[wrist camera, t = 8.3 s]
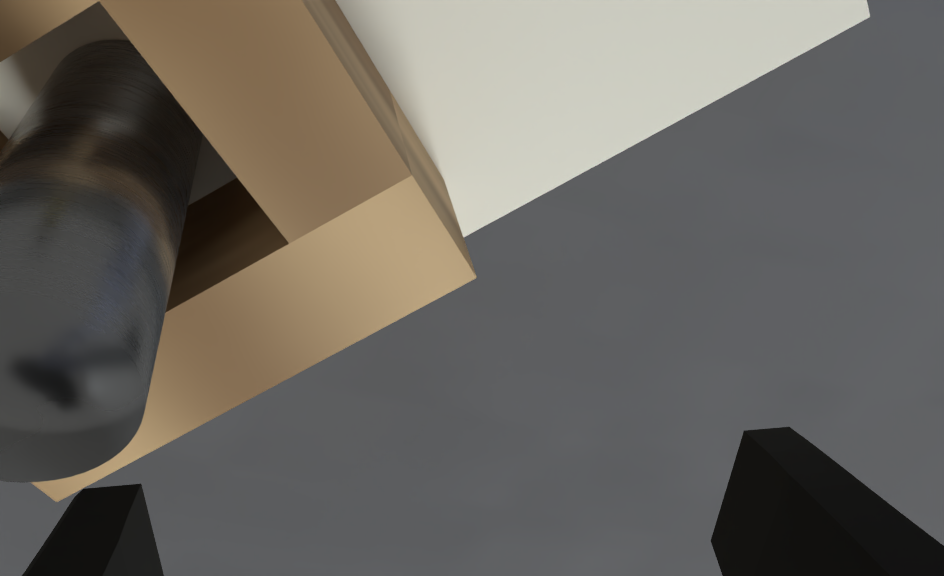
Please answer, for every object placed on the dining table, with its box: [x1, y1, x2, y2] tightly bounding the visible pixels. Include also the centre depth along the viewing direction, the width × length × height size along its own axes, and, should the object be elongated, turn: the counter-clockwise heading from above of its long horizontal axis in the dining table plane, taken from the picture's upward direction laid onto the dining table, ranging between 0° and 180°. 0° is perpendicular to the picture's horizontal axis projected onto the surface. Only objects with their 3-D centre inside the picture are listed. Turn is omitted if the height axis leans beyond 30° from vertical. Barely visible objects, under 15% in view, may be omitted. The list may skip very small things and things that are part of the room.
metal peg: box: [0, 39, 203, 482], centre depth 12 cm, size 3×3×8 cm
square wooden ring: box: [0, 0, 477, 502], centre depth 14 cm, size 9×9×4 cm
